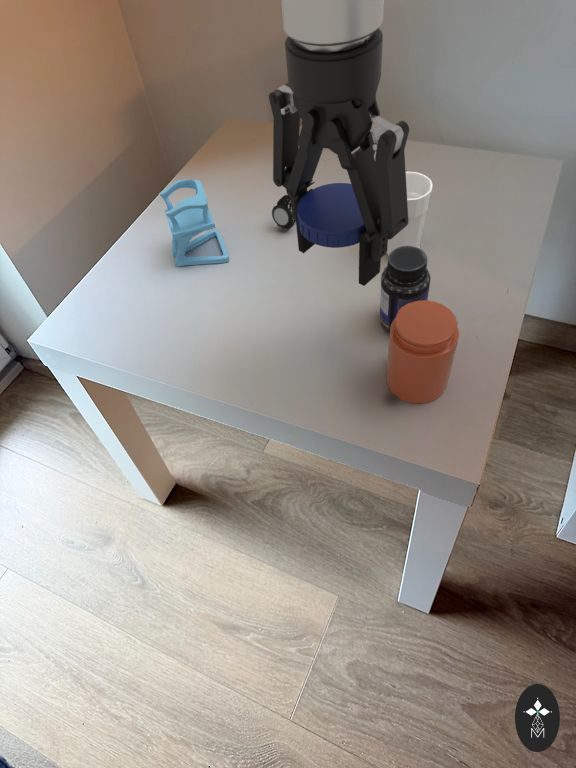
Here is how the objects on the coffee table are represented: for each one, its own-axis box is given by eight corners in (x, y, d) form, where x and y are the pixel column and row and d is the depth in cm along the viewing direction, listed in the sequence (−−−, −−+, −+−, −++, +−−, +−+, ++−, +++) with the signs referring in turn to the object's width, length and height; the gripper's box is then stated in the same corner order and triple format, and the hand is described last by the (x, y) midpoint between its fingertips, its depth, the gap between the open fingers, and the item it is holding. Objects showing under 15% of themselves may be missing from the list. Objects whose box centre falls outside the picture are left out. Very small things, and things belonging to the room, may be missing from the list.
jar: (459, 375, 68) (475, 317, 59) (424, 414, 65) (435, 359, 56) (409, 346, 71) (417, 287, 63) (373, 382, 68) (376, 325, 60)
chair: (170, 246, 88) (147, 181, 79) (218, 232, 89) (202, 166, 79) (178, 276, 84) (156, 211, 74) (230, 261, 85) (214, 195, 75)
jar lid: (384, 242, 53) (385, 226, 51) (302, 253, 53) (300, 237, 51) (370, 193, 57) (370, 177, 56) (294, 203, 58) (293, 188, 56)
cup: (424, 235, 84) (432, 171, 75) (424, 264, 80) (432, 200, 71) (381, 234, 85) (384, 171, 76) (379, 262, 81) (382, 200, 72)
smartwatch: (270, 226, 89) (266, 200, 85) (295, 213, 90) (292, 186, 86) (285, 238, 87) (282, 211, 83) (310, 224, 88) (308, 197, 84)
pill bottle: (431, 313, 74) (442, 250, 65) (412, 343, 71) (421, 281, 62) (390, 298, 76) (395, 236, 68) (370, 327, 74) (373, 265, 65)
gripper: (481, 41, 38) (438, 282, 56) (270, -11, 47) (292, 209, 65) (418, 86, 35) (394, 324, 53) (207, 20, 44) (248, 242, 63)
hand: (338, 260), depth 59 cm, fingers closed on jar lid, 8 cm apart
